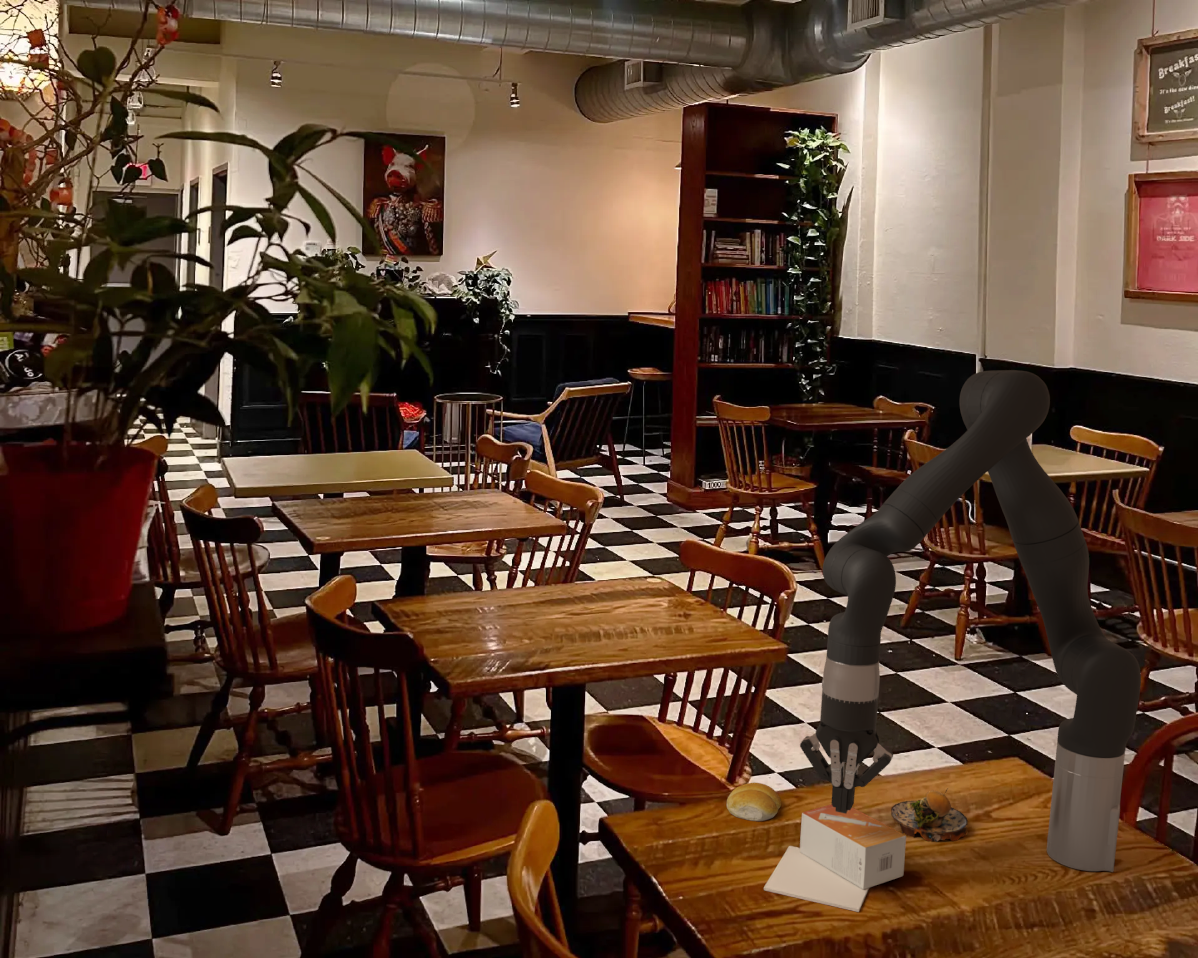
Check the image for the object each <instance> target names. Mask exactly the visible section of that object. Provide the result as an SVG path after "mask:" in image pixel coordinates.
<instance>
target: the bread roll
mask: <svg viewBox="0 0 1198 958" xmlns="http://www.w3.org/2000/svg"><path fill="white" fill-rule="evenodd" d="M781 806H782V801H781V797H780V796H779V794H778V792H777V791H776V790H775V789H774V788H772V786H770V785H768V784H764V783H761V782H749V783H745V784H741V785H739V786H737V787H735V788H734V789H733V790H732V791H731V792H730V794H729V795H728V796H727V799H726V808H727V810H728V812H729V814H731V815H732V816H734V817H736V818H739V819H743V820H746V821H751V822H764V821H767V820H770V819H773V818H774V817H775V816H776V815H777V813H778V812H779V809H780V808H781Z"/></svg>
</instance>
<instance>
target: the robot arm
mask: <svg viewBox="0 0 1198 958" xmlns="http://www.w3.org/2000/svg"><path fill="white" fill-rule="evenodd" d="M960 390H961V391H960V393H959V409H960V414H961V417H962V421H963V424H964V425H965V427H966V431H965V432H964V433H963V434H962V435H961V436H960V437H959V438H958V439H957V440H955V442H953V443H952V444H951V445H950V446H948V447H947V448H945V449H944V450H943V451H942V452H940V453H939V454H937V455H936V456H934V457H933V458H932V459H930V460H928V461H927V462H925V464H923V465H921V466H920V467H918V468H917V469H916V470H915V471H913V472H912V473H911V474H910V475H909V476H907V477H906V478H905V479H904V480H903V482H901V484H899V486H898V487H897V488H896V489H895V490H894V491H893V492H892V493H891V494H890V496H889V497H888V498H887V499H886V500H885V501H884V502H883V503H882V504H881V506H880V507H879V508H878V510H877V511H876V512H875V513H874V514H873V515H871V516H869V517H868V518H866V519H865V520H863V521H862V522H860V523H859V524H858V525H856V526H854V528H852V529H851V530H849V531H848V532H846V534H844V535H843V536H842V537H840V538H839V539H838V540H837V541H836V542H835V543H834V544H833V545H832V547H830V549H829V551H828V552H827V554H826V556H825V558H824V561H823V564H822V575H823V580H824V581H825V583H826V584H827V586H828V587H830V588H831V589H832V590H834V591H836V592H837V593H840V594H842V595H844V596H847V604H846V607H845V610H844V612H839V613H836V614H835V615H833V616H832V617H831V619H830V621H829V623H828V630H827V642H826V643H827V644H826V645H827V646H826V656H825V657H826V658H825V661H824V662H825V663H824V667H823V676H822V680H821V688H822V690H821V702H820V703H821V704H820V706H821V707H820V718H819V725H818V727H816V730H815V733H814V734H812V735H807V736H805V737H804V738H803V739H802V741H801V742H800V744H799V747H800V749H801V750H802V752H803V753H804V755H805V756H806V758H807V760H808V761H809V763H810V764H811V766H812V767H813V769H814V770H815V772H816V774H817V775H818V777H819V779H821V780H824V781H828V782H830V784H831V785H832V792H831V802H830V803H831V804H832V806H833V807H836V812H840V813H845V814H846V813H847V811H848V810H851V808H853V806H854V804H855V795H856V794H855V793H856V788H859V787H860V788H865V787H866V786H867V785H868V784H869V783H870V782H871V781H872V780H873V779H875V778H876V777H877V776H878V775H879V774H880V773H881V772H882V771H883V770H884V769H885V768H887V766H888V765H890V763H891V761H892V759H893V757H894V753H893V751H891V750H890V749H886V748H884V747H883V745H881V744H880V737H879V735H878V732H877V718H878V708H879V707H878V706H879V692H880V680H881V678H880V677H881V676H880V675H881V674H880V673H881V671H880V655H881V654H880V652H881V641H882V638H881V637H882V636H881V635H882V630H883V628H884V625H885V623H886V620H887V617H888V615H889V614H888V613H889V612H890V609H891V608H890V607H891V605H892V602H893V599H894V596H895V592H896V587H897V576H896V571H895V567H894V565H893V562H892V561H891V559H890V558H889V556H890V555H892V554H894V553H898V552H899V553H901V552H902V553H903V552H909V551H913V549H915V548H916V547H917V546H918V545H919V544H920V543H921V542H922V541H923V539H925V537H926V536H927V535H928V534H929V533H930V531H931V530H932V529H933V528H934V527H935V526H936V524H938V522H939V521H940V520H941V519H942V518H943V516H944V515H945V514H946V513H947V512H948V511H949V509H950V508H951V507H952V506H953V505H954V504H955V503H956V502H957V501H958V500H959V499H960V498H961V497H962V496H963V495H964V494H965V493H966V492H967V491H968V490H969V489H970V488H971V487H972V486H973V485H975V483H977V481H979V480H980V479H981V478H982V477H983V476H984V475H985V474H986V473H987V474H988V475H989V478H990V481H991V483H992V487H993V489H994V492H995V494H996V497H997V500H998V503H999V505H1000V508H1001V510H1002V513H1003V515H1004V517H1005V520H1006V523H1007V526H1008V530H1009V533H1010V537H1011V540H1012V542H1013V545H1014V548H1015V551H1016V553H1017V554H1016V555H1017V556H1018V559H1019V562H1020V565H1021V567H1022V568H1023V571H1024V573H1025V577H1026V579H1027V581H1028V585H1029V587H1030V589H1031V592H1032V595H1033V597H1034V600H1035V602H1036V605H1037V606H1038V609H1039V611H1040V614H1041V618H1042V621H1043V624H1044V627H1045V628H1044V629H1045V633H1046V637H1047V641H1048V644H1049V650H1050V654H1051V658H1052V662H1053V666H1054V670H1055V672H1056V674H1057V677H1058V679H1059V681H1060V682H1061V683H1062V684H1063V686H1064V687H1066V689H1068V690H1069V691H1070V692H1072V693H1074V694H1075V695H1076V701H1075V706H1074V713H1073V717H1071V718H1066V719H1064V720H1062V721H1061V723H1060V724H1059V726H1058V731H1057V737H1056V738H1057V741H1056V749H1055V751H1056V752H1055V759H1054V760H1055V762H1054V773H1053V781H1052V791H1051V802H1050V810H1049V811H1050V813H1049V823H1048V833H1047V839H1046V840H1047V843H1046V853H1047V855H1048V856H1049V857H1050V858H1051V859H1052V860H1053V861H1055V862H1057V863H1058V864H1061V865H1063V866H1065V867H1069V868H1071V869H1075V870H1078V871H1079V870H1081V871H1087V872H1101V871H1106V872H1112V873H1113V872H1114V870H1115V869H1114V868H1115V860H1116V850H1117V840H1118V832H1119V824H1120V823H1119V822H1120V814H1121V813H1120V812H1121V796H1122V795H1121V793H1122V786H1123V785H1122V783H1123V774H1124V769H1125V768H1124V765H1125V758H1126V757H1125V756H1126V749H1127V743H1128V741H1129V739H1131V736H1132V734H1133V732H1134V729H1135V726H1136V725H1135V724H1136V719H1137V713H1138V708H1139V707H1138V706H1139V700H1140V695H1141V694H1140V693H1141V686H1142V675H1141V673H1142V672H1141V668H1140V664H1139V661H1138V660H1137V658H1136V657H1135V655H1134V654H1133V653H1131V652H1130V651H1129V650H1128V649H1126V648H1124V647H1123V646H1120V645H1119V644H1117V643H1116V642H1113V641H1111V640H1110V639H1108V638H1107V637H1106V635H1105V634H1104V633H1103V631H1102V629H1101V627H1100V625H1099V623H1098V620H1097V618H1096V615H1095V613H1094V610H1093V607H1092V605H1091V601H1090V598H1089V594H1088V593H1089V592H1088V586H1089V585H1088V582H1089V572H1090V571H1089V570H1090V557H1089V556H1090V553H1089V549H1088V546H1087V541H1086V539H1085V536H1084V533H1083V530H1082V527H1081V525H1080V521H1079V518H1078V516H1077V514H1076V511H1075V509H1074V507H1073V506H1072V504H1071V502H1070V501H1069V499H1068V498H1067V497H1066V495H1065V494H1064V493H1063V491H1062V490H1061V489H1060V488H1059V486H1058V484H1056V483H1055V482H1054V480H1053V479H1052V478H1051V477H1050V476H1049V475H1048V473H1047V472H1046V471H1045V469H1043V467H1042V466H1041V465H1040V463H1039V461H1038V460H1037V459H1036V457H1035V455H1034V454H1033V451H1032V449H1031V447H1030V445H1029V442H1028V437H1030V436H1031V435H1032V434H1033V433H1034V432H1036V430H1038V428H1040V427H1041V425H1043V423H1044V421H1045V419H1046V418H1047V415H1048V413H1049V411H1050V410H1049V409H1050V405H1051V401H1050V400H1051V396H1050V391H1049V389H1048V386H1047V384H1046V383H1045V381H1044V380H1042V379H1041V377H1039V376H1038V375H1036V374H1035V373H1033V372H1030V371H1026V370H1019V369H1018V370H1015V369H1011V370H1010V369H1009V370H1007V369H1005V370H984V371H979V372H976V373H973V374H972V375H971V376H969V377H968V378H967V379H966V381H965V382H964V384H963V385H962V388H961V389H960ZM821 747H822V749H823V750H824V752H825V754H826V755H827V757H828V758H829V759H830V763H828V761H827V759H826V758H825V756H824V755H823V753H822V752H821V750H820V748H821ZM872 752H874V754H873V757H872V761H873V763H871V764H870V765H869V766H868V767H867V768H866V769H864V771H863V772H862V773H859V774H858V771H859V766H860V764H861V763H863V762H864V761H865V759H867V757H869V756H870V754H871V753H872ZM845 763H846V765H845Z"/></svg>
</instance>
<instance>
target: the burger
mask: <svg viewBox="0 0 1198 958" xmlns="http://www.w3.org/2000/svg"><path fill="white" fill-rule="evenodd" d="M947 791H948V789H946V790H945V792H944V793H942V792H940V791H938V790H933V789H932V790H930V791H928V792H927V793H926V797H923V798H921V799H918V800H906V801H901V802H897V803H895V804H894V805H893V806H892V807H891V808H890V809H891V813H890V815H891V817H892V820H893V821H894V822H896V823H898V824H899V825H900V826H901V833H902V834H904V835H906V837H908V836H909V837H911V838H915V834H917V833H918V834H920V836H921V838H923V840H925V841H927V842H933V841H934V842H935V843H937V842H938V841H940V840H941V841H945V840H950V841H951V842H955V841H958V840H959V839H960V838H964V837H966V835H967V834H968V822H969V821H968V818H967V817H966V815H965V814H964V813H963V812H961V811H960V810H958V809H956V808H954V807H953V806H952V804H951V802H950V800H949V798H948V797H947V795H946V793H947Z"/></svg>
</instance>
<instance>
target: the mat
mask: <svg viewBox="0 0 1198 958" xmlns="http://www.w3.org/2000/svg"><path fill="white" fill-rule="evenodd" d="M869 889H870V887H869V888H866V889H861V888H860V887H858V886H856V885H855V884H853V883H851V882H850V881H848V880H846V879H845V878H843V877H841V876H840V875H838V874H836V873H835V872H833V871H831V870H829V869H828V868H826V867H824V866H823V865H821V864H819V863H818V862H816V861H814V860H813V859H811V858H809V857H807V856H806V855H804V854H802V853H801V852H800V847H797V846H793V845H789V846H788V847H787V849H786V850H785V853H784V854H783V855H782V858H781V859H780V861H779V862H778V864H777V866H776V867H775V869H774V871H773V872H772V873H771V875H770V877H769V878H768V880H767V881H766V883H765V885H764V887H763V891H766V892H770V893H774V894H779V895H783V896H788V897H792V898H797V899H801V900H805V901H809V902H812V903H813V902H814V903H818V904H822V905H826V906H832V907H835V908H840V909H844V910H849V911H853V912H856V913H859V912H860V910H861V908H862V905H863V903H864V901H865V899H866V896H867V894H868V892H869Z"/></svg>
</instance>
